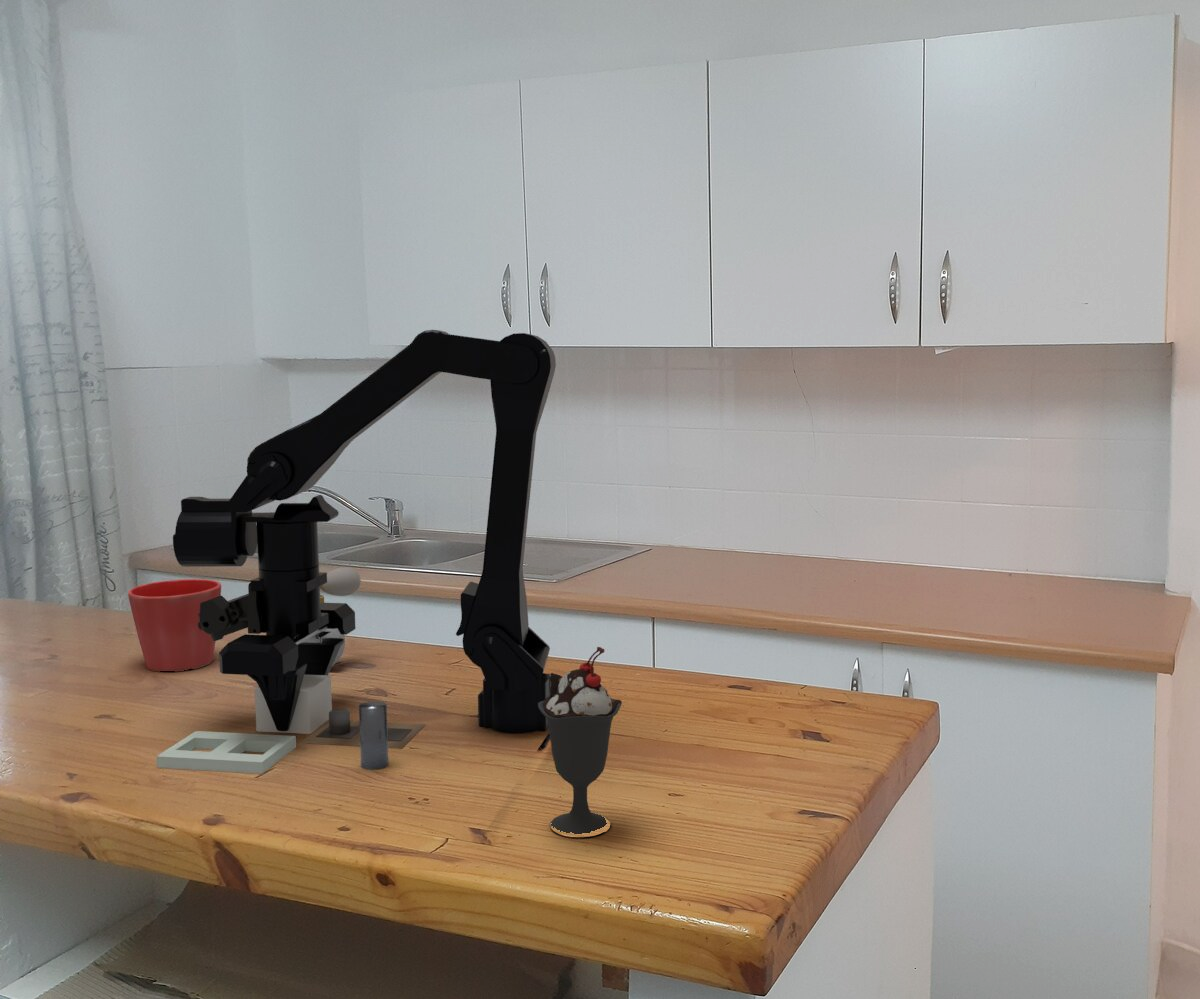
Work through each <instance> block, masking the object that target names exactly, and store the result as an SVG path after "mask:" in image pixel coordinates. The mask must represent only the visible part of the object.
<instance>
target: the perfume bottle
mask: <svg viewBox="0 0 1200 999" xmlns="http://www.w3.org/2000/svg"><path fill="white" fill-rule="evenodd" d="M326 573H327V583H325V584H323V585H321V586H320V591H323V592H324V593H326V594H327V595H332V596H336V597H346V596H350V595H353V594H355V592H357V591H358V590H359V589H360V586H361V576H360V573H358V571H357V570H356V569H354V568H352V567H347V566H345V567H344V566H342V567H338V568H335V569H333V570H330V571H329V572H326ZM320 603H325V596H324V595H321V594H320ZM327 632H331V638H342V639H344V643H343V644H342V645H341V647H340V649H339V651H338V654H337V656H336V658H335V660H334V663H333V665H332V667H333V666H335V665H336V664H337V663H338V662H339V660H340V659H341V657H342V656H343V653H344V650H345V648H346V647H345V645H346V637H345V636H346V635H341V634H340V632H339V630H338V628H336V629H327Z"/></svg>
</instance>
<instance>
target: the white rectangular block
mask: <svg viewBox="0 0 1200 999" xmlns="http://www.w3.org/2000/svg"><path fill="white" fill-rule="evenodd" d="M331 677H332V675H329V674H328V675H304V678H303V681H302V685H301V688H300V692H299V696H298V700H297V703H296V707H295V711H294V715H293V718H292V721H291V724H290V728H289V730H287V731H278V730H277V729H276V726H275V724H274V721H273V719H272V716H271V714H270V711H269V709H268V706H267V703H266V701H265V698H264V696H263V694H262V692H261V690H260V688H259V686H257V687H255V688H254V703H255V704H254V706H255V708H254V709H255V728H256V732H264V733H283V734H284V733H285V734H286V733H288V734H301V735H302V734H303V735H304V734H305V735H311V734H313V733H314V732H315V731H316V730H318V729H319V728H320V727H321V726H323V725H324V724H325V723H326V722H328V721H329V712H330V711H332V710H333V703H332V702H333V700H332V699H333V697H332V678H331Z"/></svg>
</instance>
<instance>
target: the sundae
mask: <svg viewBox="0 0 1200 999" xmlns="http://www.w3.org/2000/svg"><path fill="white" fill-rule="evenodd" d="M598 652H599V653H598ZM603 653H605V648H602V647H601V646H597V647H596V651H595V652H593V653H592V654H591V656H590V657H589V659H588V661H586V662H583V663H581V664H580V665H579V669H574V670H570V671H568V672H566V673H565V675H563V676H562V675H560V674H557V673H553V672H551V673H549V674H550V675H549V695H550V696H549V697H547V698H546V700H545V701H541V702H539V703H538V708H539V710H540V711H541V712H542V713H543V715H544V716H546V717H547V721H548V731H549V732H548V733H550V740H549V741H550V747H551V752H552V753H551V755H552V759H553V763H554V767H555V770H556V772H557V773H558V774H559V776H560V777H561V778H562V779H563V780H564V781H565V782H567V783H568V784H569V785H571V787H572V792H573V793H572V794H573V798H572V799H573V800H572V806H571V810H570V811H569V812H568V813H563V814H560V815H558V816H555V817H554V818H553V819H552V820H551V822H550V823H552V824H551V826H553V828H554V827H555V828H556V829H557V830H560V832H561V831H563V832H566V833H570V832H572V833H574V834H582V833H590V832H591V831H595V830H597V829H600V828H602V827H604V826H605V825H606V824H607V823H606V820H605V818H604V817H602V816H601V814H600V815H598V814H599V813H596V812H592V811H591V810H590V806H589V802H588V787H589V786H590V785H591V784H592V783H593V782H595V781H596V780H597V779H598V778H599V777H600V776H601V774H602V773H603V772H604V771H605V766H606V763H607V758H608V752H609V743H610V736H611V735H610V734H611V728H612V722H613V718H614V717H615V716H616V715H617V714H618V712H619V711H620V709H621V708H622V703H623V702H622V700H621V699H617V698H612V697H611V696H610V694H609V692H608V691H607V689H606V688H605V687H604V686H603V685H602V684H601V681H602V677H601V675H599V674H597V673H595V672H594V670H595V668H594V663H595V661H596V659H597V658H598V657H599V656H600V655H601V654H603ZM596 654H597V655H596ZM592 658H593V659H592ZM591 660H592V661H591ZM595 813H596V814H595Z"/></svg>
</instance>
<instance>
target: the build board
mask: <svg viewBox="0 0 1200 999" xmlns="http://www.w3.org/2000/svg"><path fill="white" fill-rule="evenodd" d="M295 748H297V737H296V735H284V734H283V735H282V734H281V735H280V734H279V735H278V734H264V733H263V734H258V733H243V732H242V733H241V732H223V731H221V732H220V731H205V730H204V731H203V730H202V731H201V730H195V731H194V732H192V733H191V734H189V735H188V736H186V737H184V738H183V739H181V740H179V741H178V742H177V743H175V744H173V745H172V746H171V747H169V748H167V749H165V750H164V751H162V752H161V753H159V754H158V755H156V759H155V760H156V768H157V769H173V770H175V769H176V770H188V771H189V770H193V771H204V772H205V771H210V772H211V771H212V772H227V773H229V772H230V773H241V774H242V773H243V774H260V775H261V774H264V773H265V772H266V771H268V770H269V769H270V768H272V767H273V766H274V765H275V764H277V763H278V762H279V761H281V760H283V758H285V756H287V755H289V753H291V752H292V751H293V750H294V749H295ZM194 749H197V750H194ZM198 749H199V750H198ZM201 750H204V751H201ZM205 750H210V751H205ZM244 752H251V753H244ZM252 752H256V753H257V754H254V753H252ZM258 753H262V754H258Z"/></svg>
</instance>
